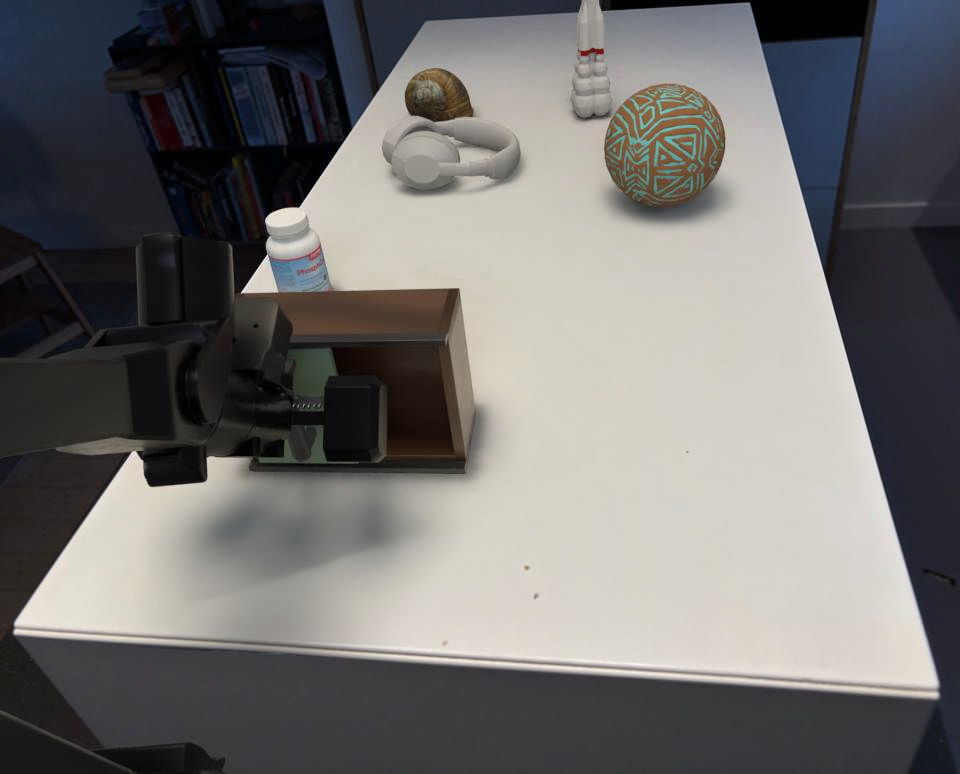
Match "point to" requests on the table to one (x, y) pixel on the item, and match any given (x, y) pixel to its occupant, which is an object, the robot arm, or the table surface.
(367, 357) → the cupboard
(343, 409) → the robot arm
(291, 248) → the pill bottle
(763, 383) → the table surface
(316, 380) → the sliding door
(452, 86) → the seashell
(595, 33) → the rocket model
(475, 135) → the headphones
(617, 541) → the table surface
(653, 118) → the decorative sphere
